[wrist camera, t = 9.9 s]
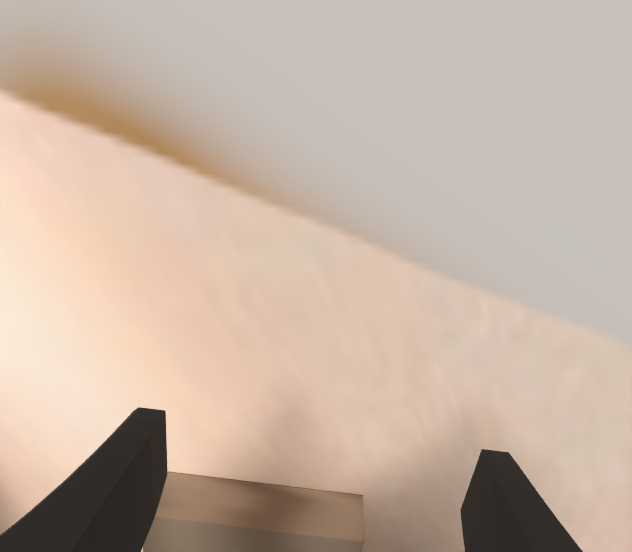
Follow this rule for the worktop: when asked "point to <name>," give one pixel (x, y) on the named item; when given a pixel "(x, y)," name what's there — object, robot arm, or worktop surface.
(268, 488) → the base board
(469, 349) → the worktop surface
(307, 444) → the worktop surface
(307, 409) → the worktop surface
